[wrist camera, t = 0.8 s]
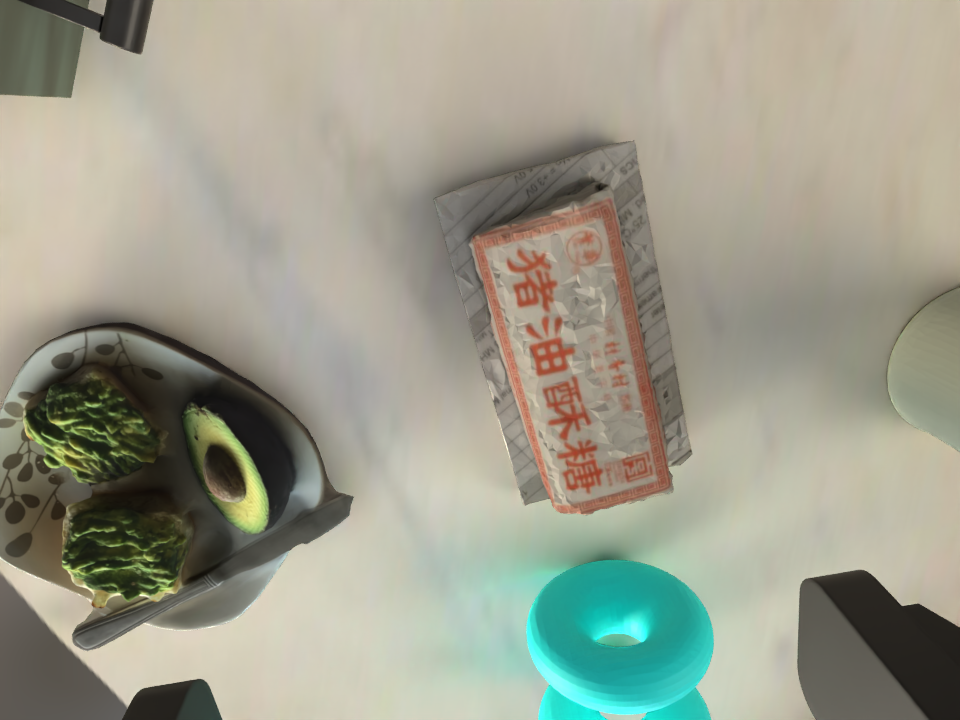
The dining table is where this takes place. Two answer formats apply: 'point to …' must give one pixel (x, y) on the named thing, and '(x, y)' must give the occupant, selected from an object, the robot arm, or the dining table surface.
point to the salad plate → (153, 481)
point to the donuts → (620, 670)
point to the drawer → (60, 40)
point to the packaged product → (571, 327)
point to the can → (929, 370)
